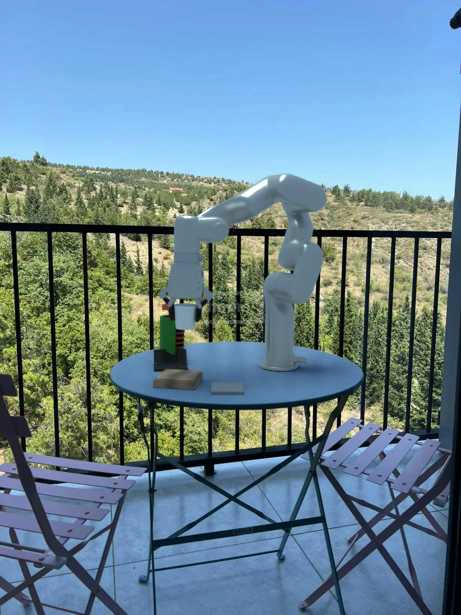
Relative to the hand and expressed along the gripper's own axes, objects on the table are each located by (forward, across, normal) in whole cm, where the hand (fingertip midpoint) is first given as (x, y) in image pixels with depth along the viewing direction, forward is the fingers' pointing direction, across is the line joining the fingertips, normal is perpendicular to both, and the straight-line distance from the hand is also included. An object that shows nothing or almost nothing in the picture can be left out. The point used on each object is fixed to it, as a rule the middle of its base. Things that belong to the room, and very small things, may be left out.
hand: (185, 320), depth 150 cm
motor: (+19, +10, -25) cm, 32 cm away
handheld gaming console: (+19, +8, -16) cm, 26 cm away
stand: (+19, +1, +1) cm, 19 cm away
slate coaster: (+18, -14, +5) cm, 23 cm away
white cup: (+3, 0, 0) cm, 3 cm away
